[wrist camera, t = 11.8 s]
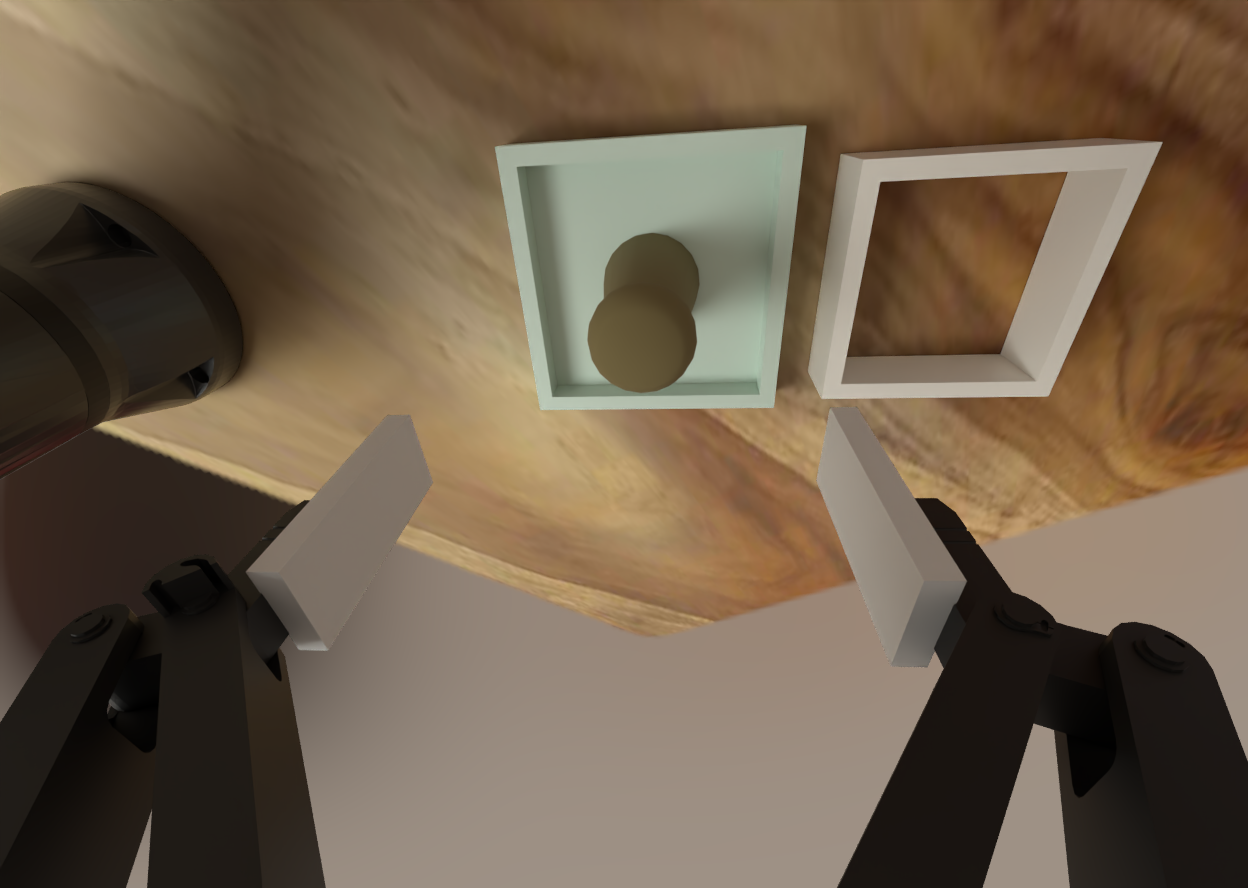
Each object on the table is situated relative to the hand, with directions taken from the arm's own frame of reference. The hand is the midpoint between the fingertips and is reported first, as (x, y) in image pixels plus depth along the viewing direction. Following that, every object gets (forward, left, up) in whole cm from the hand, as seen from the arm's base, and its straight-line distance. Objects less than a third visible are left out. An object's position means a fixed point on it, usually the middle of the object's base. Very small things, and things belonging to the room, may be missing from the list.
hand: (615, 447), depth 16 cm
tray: (0, 0, -19) cm, 19 cm away
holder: (+17, 0, -19) cm, 26 cm away
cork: (0, 0, -19) cm, 19 cm away
